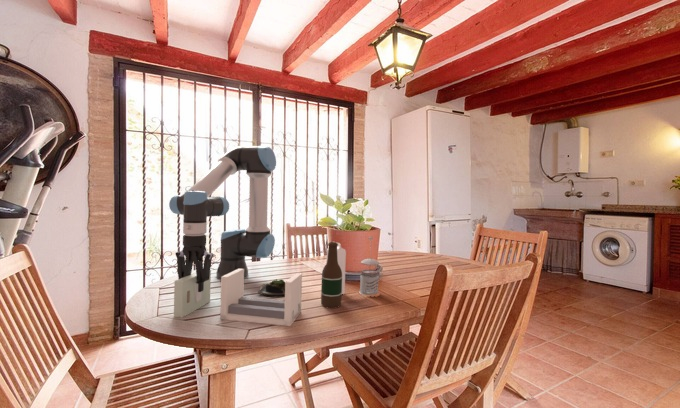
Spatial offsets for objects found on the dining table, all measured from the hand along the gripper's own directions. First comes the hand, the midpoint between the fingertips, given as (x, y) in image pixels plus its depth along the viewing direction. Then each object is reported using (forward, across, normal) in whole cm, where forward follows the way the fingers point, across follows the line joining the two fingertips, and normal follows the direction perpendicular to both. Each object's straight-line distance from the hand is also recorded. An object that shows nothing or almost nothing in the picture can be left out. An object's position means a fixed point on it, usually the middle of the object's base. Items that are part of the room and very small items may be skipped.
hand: (193, 299), depth 109 cm
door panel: (+3, 0, 0) cm, 3 cm away
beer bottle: (+3, +47, +16) cm, 50 cm away
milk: (+3, +46, +30) cm, 55 cm away
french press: (+3, +61, +34) cm, 70 cm away
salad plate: (+4, +22, +27) cm, 35 cm away
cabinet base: (+3, +26, 0) cm, 26 cm away
